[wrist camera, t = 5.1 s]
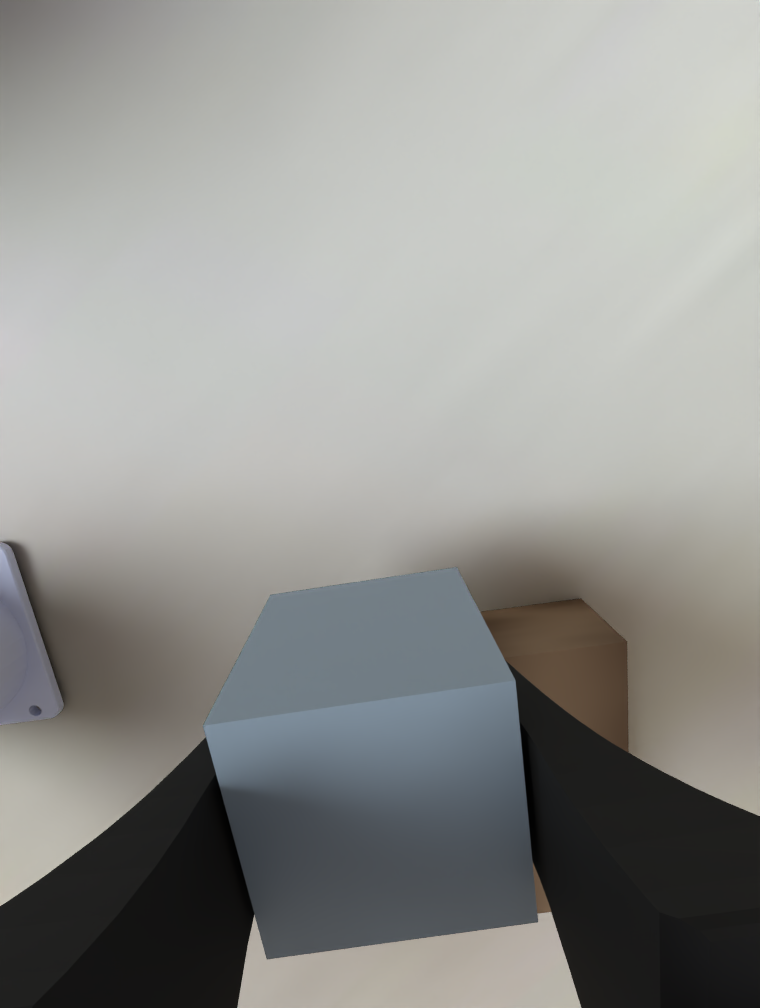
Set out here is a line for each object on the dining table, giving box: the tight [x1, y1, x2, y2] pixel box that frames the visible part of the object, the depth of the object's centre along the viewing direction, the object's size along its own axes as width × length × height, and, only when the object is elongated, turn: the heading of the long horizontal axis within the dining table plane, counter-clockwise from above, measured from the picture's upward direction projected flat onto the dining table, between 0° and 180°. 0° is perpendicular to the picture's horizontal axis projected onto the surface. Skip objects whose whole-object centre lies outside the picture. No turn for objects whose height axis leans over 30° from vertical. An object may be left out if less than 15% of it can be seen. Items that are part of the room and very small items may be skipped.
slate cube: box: [203, 567, 538, 959], centre depth 10 cm, size 5×5×5 cm
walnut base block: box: [480, 598, 628, 913], centre depth 19 cm, size 12×12×4 cm
